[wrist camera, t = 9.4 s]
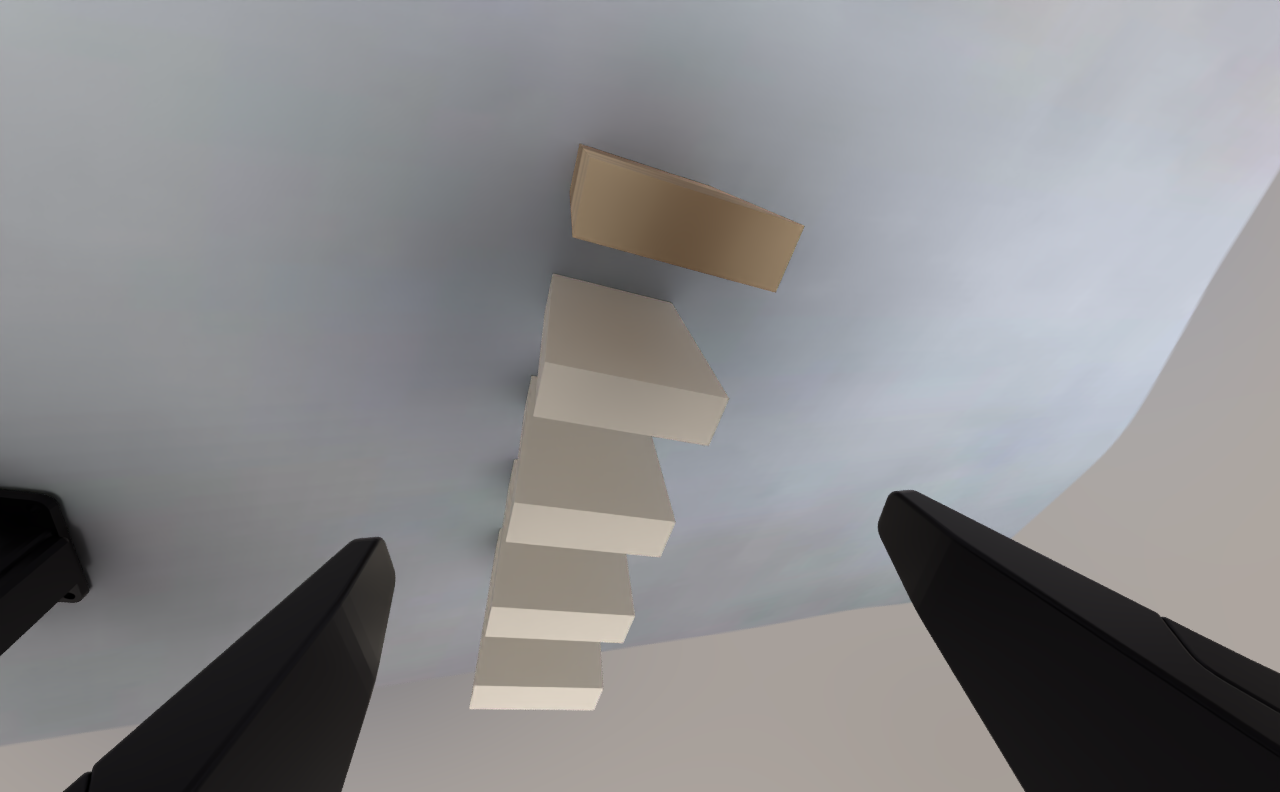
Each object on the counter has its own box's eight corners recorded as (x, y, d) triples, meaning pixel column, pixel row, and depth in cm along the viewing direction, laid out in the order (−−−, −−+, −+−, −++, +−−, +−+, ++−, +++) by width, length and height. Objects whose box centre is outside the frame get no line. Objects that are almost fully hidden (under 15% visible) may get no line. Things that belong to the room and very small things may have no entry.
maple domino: (569, 192, 17) (572, 237, 10) (579, 143, 16) (590, 157, 9) (696, 229, 18) (775, 292, 11) (710, 186, 18) (804, 226, 11)
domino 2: (525, 406, 21) (505, 541, 14) (531, 375, 20) (514, 502, 14) (631, 424, 22) (660, 557, 15) (640, 396, 22) (675, 522, 15)
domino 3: (508, 484, 23) (485, 636, 16) (514, 459, 22) (491, 607, 16) (607, 497, 24) (623, 643, 18) (614, 473, 24) (634, 615, 17)
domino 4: (495, 549, 25) (469, 708, 18) (500, 528, 24) (474, 685, 18) (586, 558, 26) (593, 710, 20) (593, 538, 26) (603, 688, 19)
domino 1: (544, 311, 19) (532, 416, 12) (552, 273, 18) (545, 362, 11) (660, 337, 20) (708, 445, 13) (672, 302, 20) (728, 398, 13)
